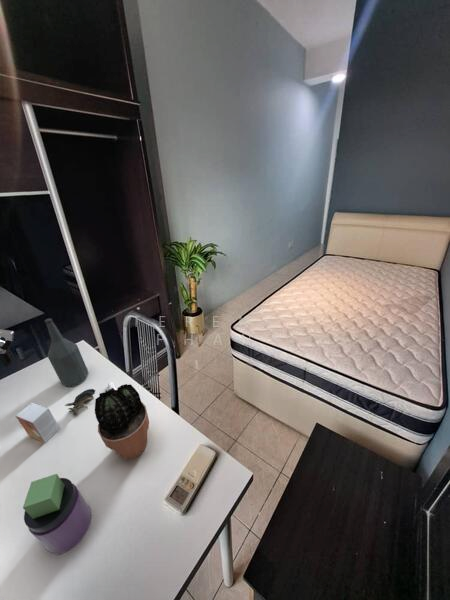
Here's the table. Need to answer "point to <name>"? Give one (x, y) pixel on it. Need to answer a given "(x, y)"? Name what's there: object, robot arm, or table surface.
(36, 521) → the jar lid
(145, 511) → the table surface
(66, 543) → the jar
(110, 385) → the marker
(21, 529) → the table surface
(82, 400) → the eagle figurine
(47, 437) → the small box
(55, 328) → the bottle
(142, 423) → the potted plant
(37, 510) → the block
